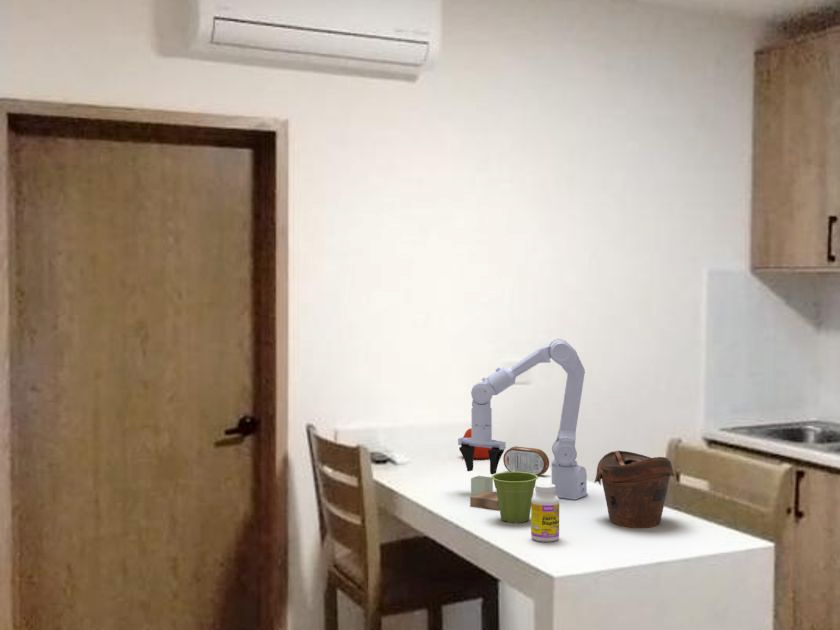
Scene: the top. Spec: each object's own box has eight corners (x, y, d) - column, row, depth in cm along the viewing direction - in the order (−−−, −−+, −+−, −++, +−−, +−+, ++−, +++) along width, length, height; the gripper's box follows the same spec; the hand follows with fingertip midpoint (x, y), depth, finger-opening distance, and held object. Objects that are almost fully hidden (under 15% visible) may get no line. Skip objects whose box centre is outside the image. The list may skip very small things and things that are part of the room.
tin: (549, 476, 310) (549, 449, 310) (545, 477, 308) (545, 450, 307) (506, 471, 318) (506, 445, 318) (502, 473, 316) (501, 446, 315)
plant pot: (483, 517, 259) (483, 474, 258) (523, 512, 263) (523, 470, 263) (505, 527, 248) (505, 482, 247) (546, 522, 253) (546, 478, 252)
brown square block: (515, 505, 273) (515, 494, 273) (499, 512, 266) (499, 501, 266) (487, 501, 278) (487, 490, 278) (470, 507, 271) (470, 496, 271)
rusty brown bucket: (606, 509, 266) (606, 442, 265) (681, 517, 257) (682, 448, 255) (584, 525, 250) (584, 454, 249) (664, 535, 241) (664, 461, 240)
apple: (459, 460, 337) (459, 429, 337) (463, 454, 348) (463, 424, 347) (491, 461, 335) (491, 429, 335) (494, 455, 346) (494, 424, 346)
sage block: (492, 494, 285) (492, 477, 285) (484, 497, 281) (484, 480, 281) (479, 492, 288) (479, 475, 287) (471, 495, 284) (470, 478, 284)
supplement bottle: (540, 543, 233) (540, 489, 232) (526, 537, 239) (525, 483, 238) (564, 540, 236) (564, 486, 235) (550, 534, 242) (550, 481, 241)
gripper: (510, 425, 283) (510, 472, 284) (467, 420, 291) (467, 467, 292) (498, 428, 277) (498, 476, 278) (454, 424, 285) (454, 471, 286)
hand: (481, 472), depth 284 cm, fingers open, 7 cm apart
